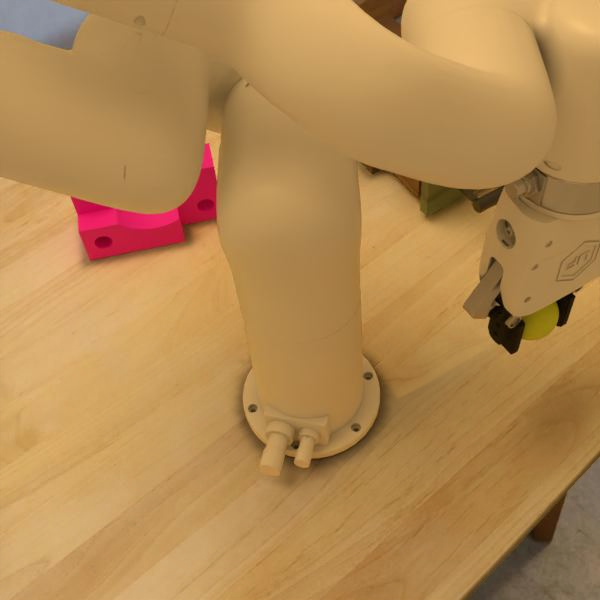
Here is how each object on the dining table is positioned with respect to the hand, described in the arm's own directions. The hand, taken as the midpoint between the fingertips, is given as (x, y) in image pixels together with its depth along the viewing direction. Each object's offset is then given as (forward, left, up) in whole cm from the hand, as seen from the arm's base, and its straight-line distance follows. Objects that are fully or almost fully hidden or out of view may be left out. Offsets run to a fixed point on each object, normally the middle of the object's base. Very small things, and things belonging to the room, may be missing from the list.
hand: (526, 326), depth 71 cm
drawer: (+25, +10, -9) cm, 28 cm away
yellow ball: (0, 0, +2) cm, 2 cm away
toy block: (+13, +40, -10) cm, 43 cm away
